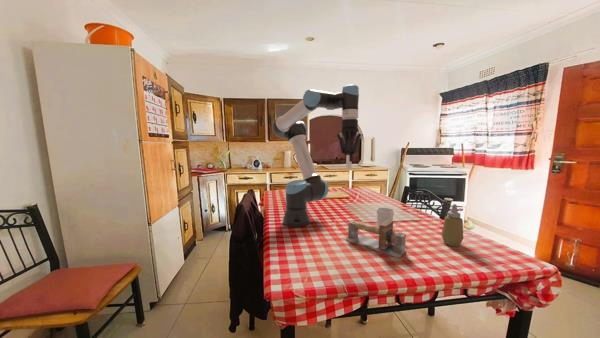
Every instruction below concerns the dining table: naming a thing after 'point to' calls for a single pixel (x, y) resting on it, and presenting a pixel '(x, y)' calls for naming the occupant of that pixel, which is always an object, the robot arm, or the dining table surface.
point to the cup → (384, 215)
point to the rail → (393, 250)
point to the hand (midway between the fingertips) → (348, 168)
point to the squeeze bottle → (453, 228)
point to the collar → (385, 234)
